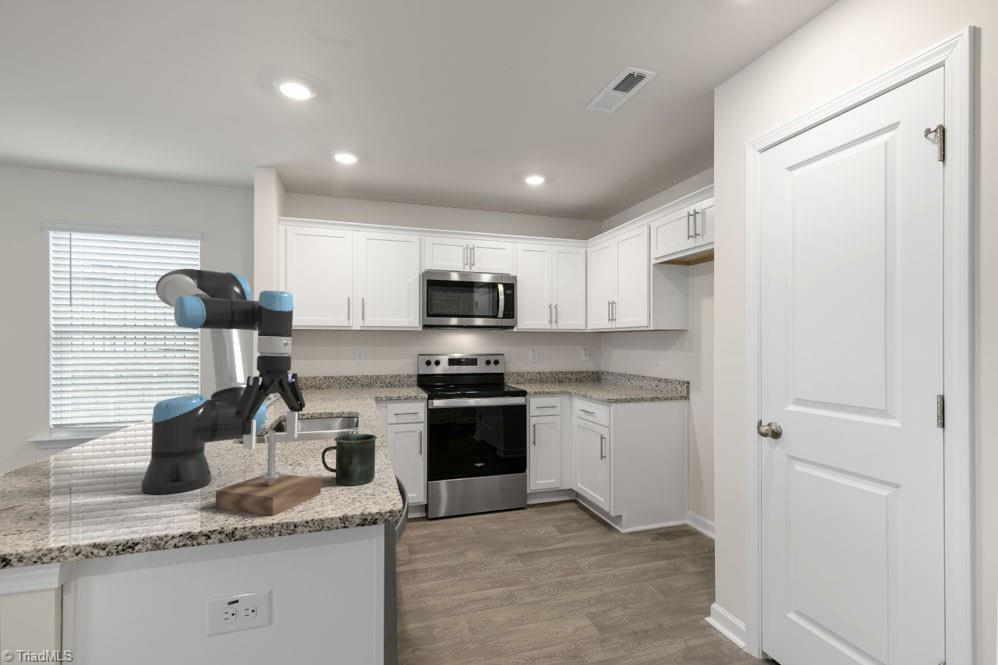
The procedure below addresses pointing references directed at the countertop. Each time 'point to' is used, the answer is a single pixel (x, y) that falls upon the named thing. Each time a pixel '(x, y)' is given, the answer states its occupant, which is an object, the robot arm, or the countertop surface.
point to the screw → (271, 462)
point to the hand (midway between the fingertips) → (271, 442)
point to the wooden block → (268, 494)
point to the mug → (353, 459)
